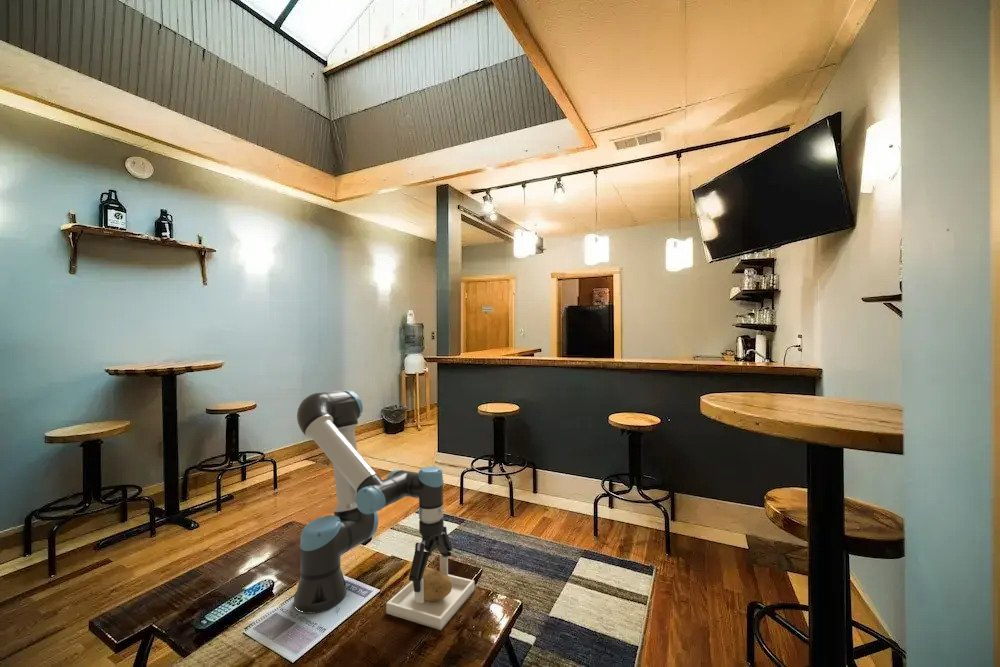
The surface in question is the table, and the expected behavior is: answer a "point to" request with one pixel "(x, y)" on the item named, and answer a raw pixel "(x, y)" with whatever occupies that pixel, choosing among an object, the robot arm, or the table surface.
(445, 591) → the potato
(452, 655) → the table surface
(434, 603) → the bin
